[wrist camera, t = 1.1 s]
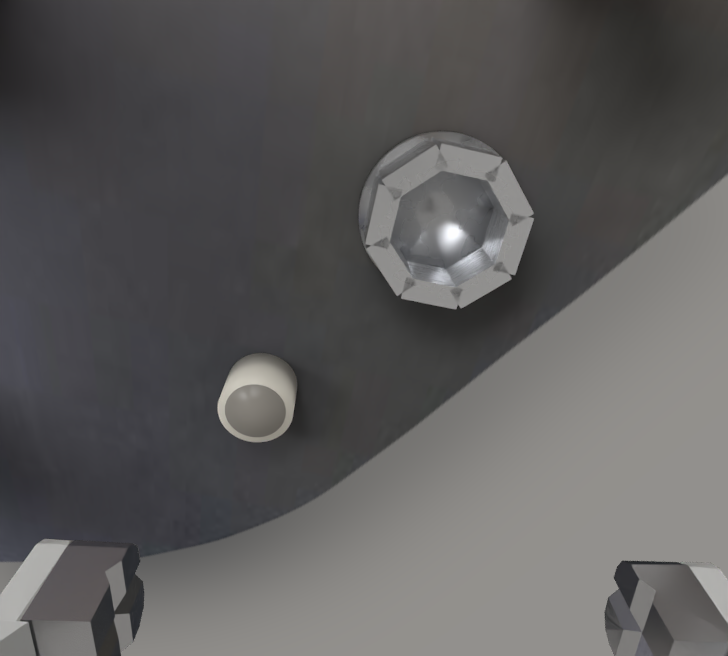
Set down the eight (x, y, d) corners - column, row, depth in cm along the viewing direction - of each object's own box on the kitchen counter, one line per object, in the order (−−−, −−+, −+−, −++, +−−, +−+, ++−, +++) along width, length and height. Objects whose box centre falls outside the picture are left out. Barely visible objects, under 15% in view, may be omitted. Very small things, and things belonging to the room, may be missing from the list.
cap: (223, 407, 47) (213, 436, 43) (232, 346, 45) (221, 372, 41) (291, 418, 48) (286, 448, 44) (302, 359, 45) (299, 386, 42)
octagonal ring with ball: (343, 272, 43) (343, 296, 38) (378, 113, 38) (383, 118, 34) (489, 301, 44) (506, 328, 39) (538, 151, 40) (563, 160, 35)
